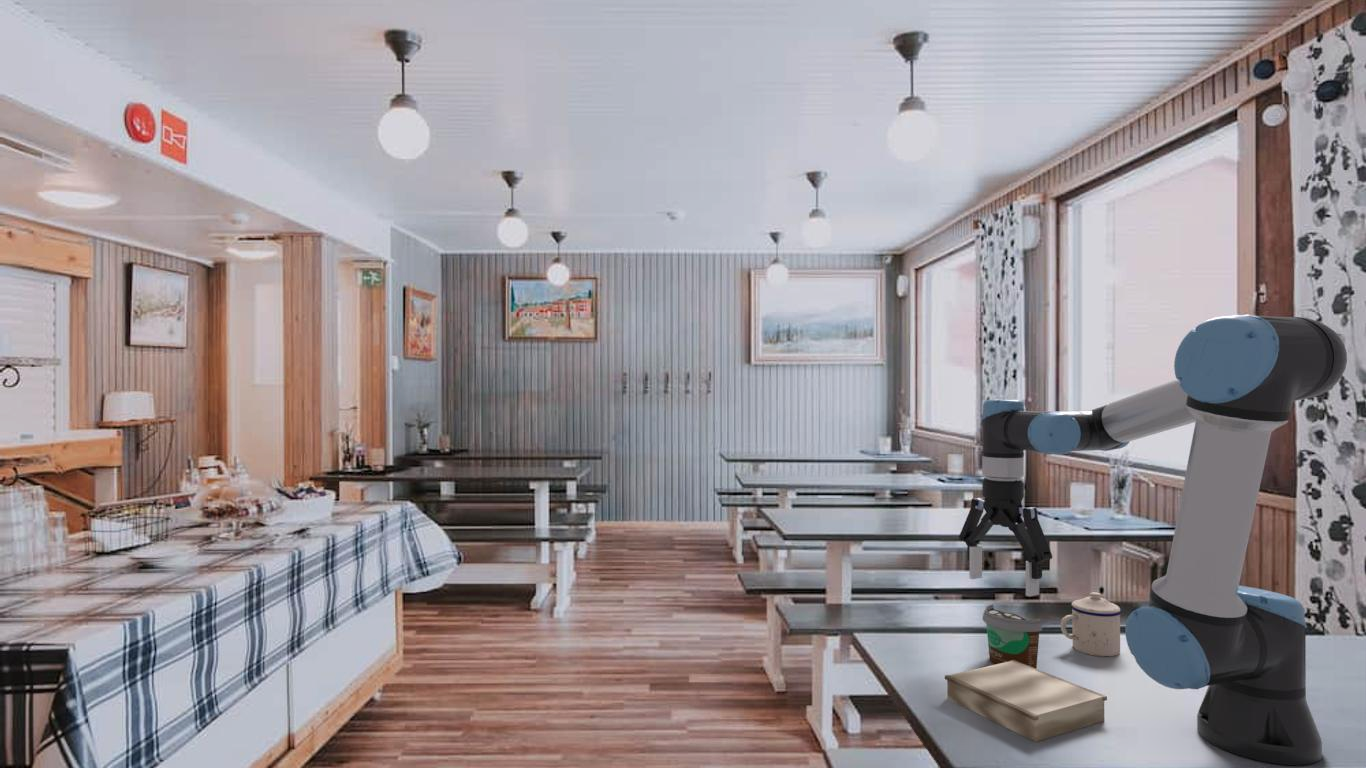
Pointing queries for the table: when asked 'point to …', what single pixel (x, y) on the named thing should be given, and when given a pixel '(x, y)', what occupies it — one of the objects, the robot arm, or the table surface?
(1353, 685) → the table surface
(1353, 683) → the table surface
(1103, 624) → the teacup with lid
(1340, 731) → the table surface
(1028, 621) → the food container
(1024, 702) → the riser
